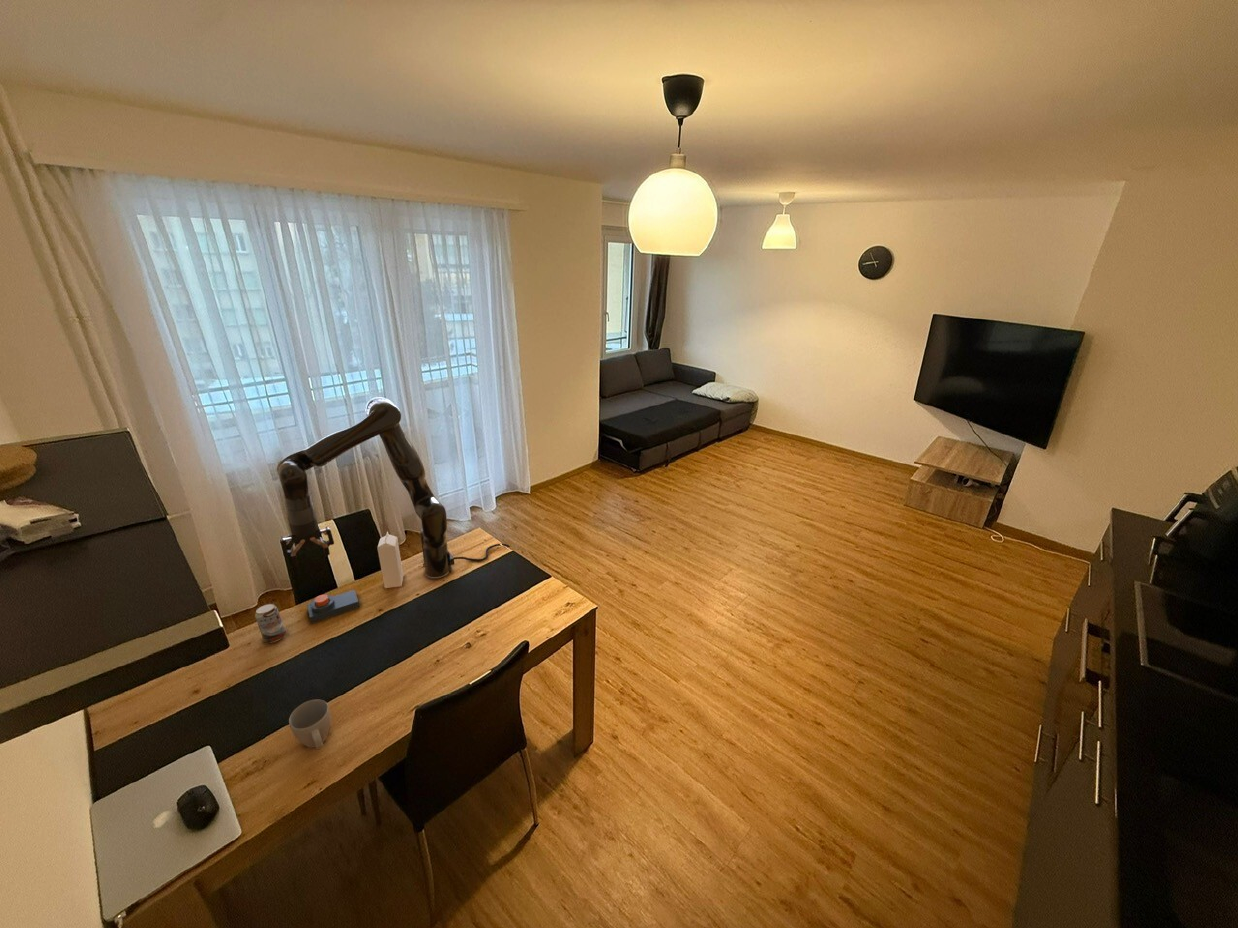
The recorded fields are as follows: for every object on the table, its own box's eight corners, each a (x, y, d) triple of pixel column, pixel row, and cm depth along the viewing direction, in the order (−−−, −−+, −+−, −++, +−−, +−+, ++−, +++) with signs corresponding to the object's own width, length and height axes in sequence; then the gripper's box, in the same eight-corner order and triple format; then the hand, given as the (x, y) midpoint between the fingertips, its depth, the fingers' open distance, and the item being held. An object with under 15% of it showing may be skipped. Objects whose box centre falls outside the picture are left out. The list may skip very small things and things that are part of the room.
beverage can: (269, 648, 154) (260, 619, 149) (258, 638, 157) (248, 609, 152) (290, 636, 159) (282, 608, 154) (279, 626, 162) (270, 599, 157)
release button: (327, 597, 170) (326, 593, 170) (329, 604, 168) (328, 599, 167) (314, 601, 168) (313, 597, 167) (316, 608, 165) (315, 603, 164)
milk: (384, 588, 183) (375, 540, 173) (387, 578, 188) (378, 531, 178) (401, 586, 184) (393, 539, 175) (404, 576, 189) (396, 529, 180)
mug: (293, 735, 128) (285, 711, 124) (330, 716, 134) (323, 692, 130) (303, 770, 121) (295, 745, 117) (342, 748, 126) (335, 724, 122)
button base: (355, 595, 178) (353, 585, 176) (359, 607, 173) (357, 597, 171) (308, 610, 170) (305, 600, 168) (311, 623, 164) (308, 613, 162)
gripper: (276, 529, 147) (287, 572, 153) (329, 517, 155) (338, 559, 162) (274, 518, 152) (285, 560, 159) (325, 507, 160) (334, 547, 167)
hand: (311, 559), depth 160 cm, fingers open, 8 cm apart
